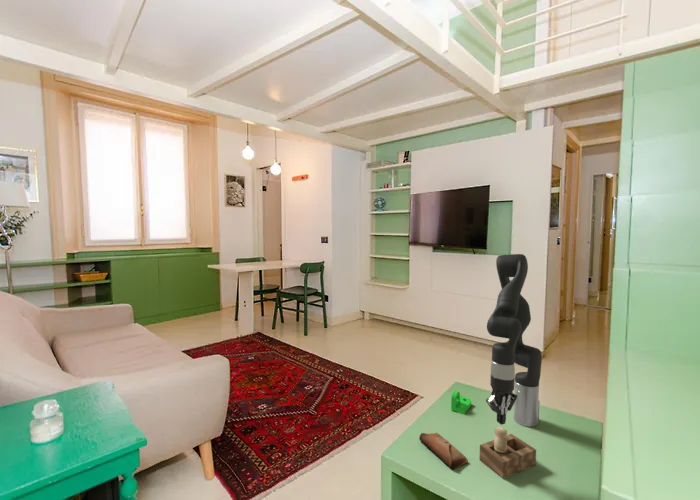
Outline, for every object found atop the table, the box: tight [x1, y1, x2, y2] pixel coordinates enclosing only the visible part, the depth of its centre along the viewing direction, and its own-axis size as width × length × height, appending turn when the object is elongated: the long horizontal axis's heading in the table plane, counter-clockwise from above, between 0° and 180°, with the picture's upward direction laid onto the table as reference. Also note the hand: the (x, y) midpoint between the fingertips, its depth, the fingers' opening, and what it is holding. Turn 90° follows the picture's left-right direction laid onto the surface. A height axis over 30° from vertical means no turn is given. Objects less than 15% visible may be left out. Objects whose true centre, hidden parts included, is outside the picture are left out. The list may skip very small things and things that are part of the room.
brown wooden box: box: [479, 433, 537, 480], centre depth 117 cm, size 16×10×6 cm, turn 114°
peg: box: [493, 426, 508, 457], centre depth 115 cm, size 4×4×12 cm
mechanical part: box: [450, 390, 472, 415], centre depth 155 cm, size 12×6×8 cm, turn 142°
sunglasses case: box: [418, 432, 469, 470], centre depth 122 cm, size 18×7×7 cm
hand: (501, 423), depth 114 cm, fingers closed
